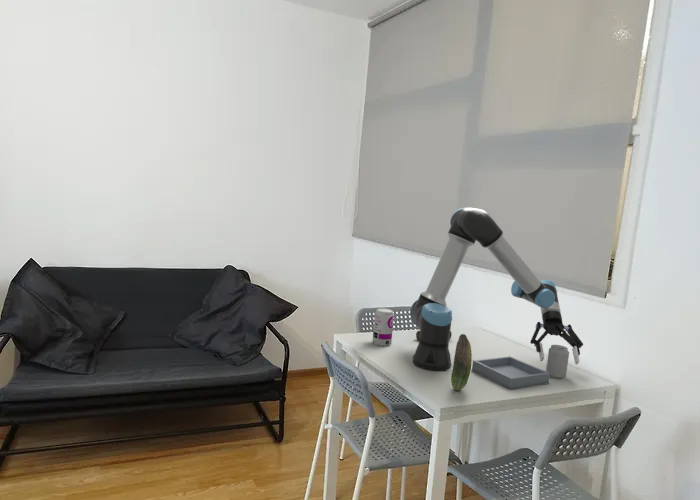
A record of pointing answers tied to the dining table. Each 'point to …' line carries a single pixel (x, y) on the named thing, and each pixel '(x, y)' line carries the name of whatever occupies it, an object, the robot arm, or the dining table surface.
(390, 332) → the supplement can
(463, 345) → the vegetable
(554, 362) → the can
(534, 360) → the dining table surface
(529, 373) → the box
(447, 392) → the dining table surface
